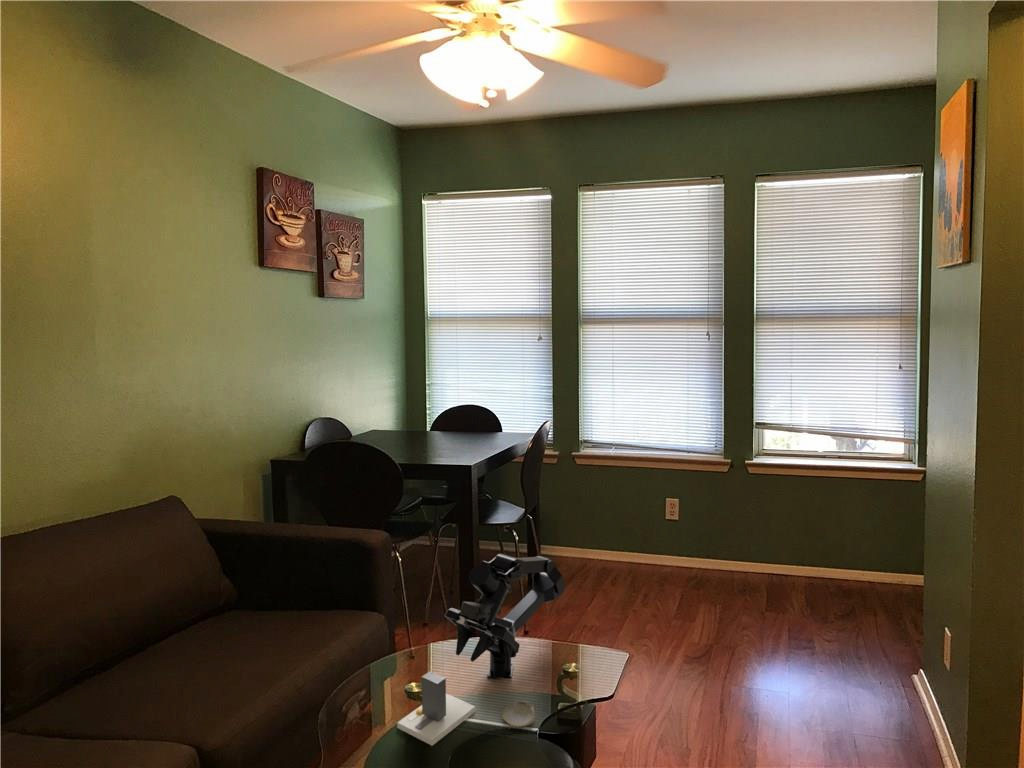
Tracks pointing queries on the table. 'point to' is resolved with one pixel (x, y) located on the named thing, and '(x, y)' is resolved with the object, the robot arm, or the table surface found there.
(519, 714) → the seashell
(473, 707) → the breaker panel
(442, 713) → the handle
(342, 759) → the table surface
